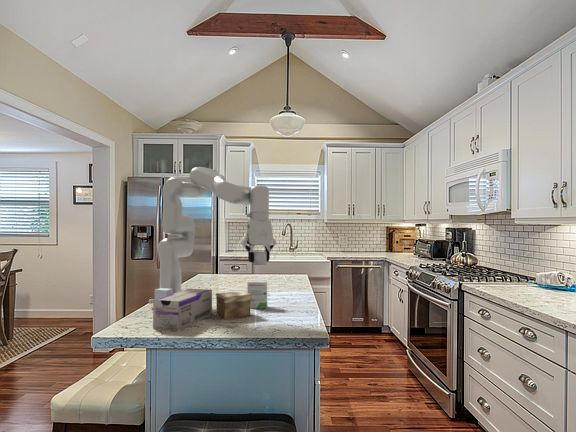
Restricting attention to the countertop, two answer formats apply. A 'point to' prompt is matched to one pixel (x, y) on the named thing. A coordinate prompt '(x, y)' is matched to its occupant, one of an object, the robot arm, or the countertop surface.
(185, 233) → the robot arm
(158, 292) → the skincare box
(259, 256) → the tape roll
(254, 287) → the ink box
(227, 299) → the lid
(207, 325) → the countertop surface
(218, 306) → the crate
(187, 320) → the surgical sutures box
